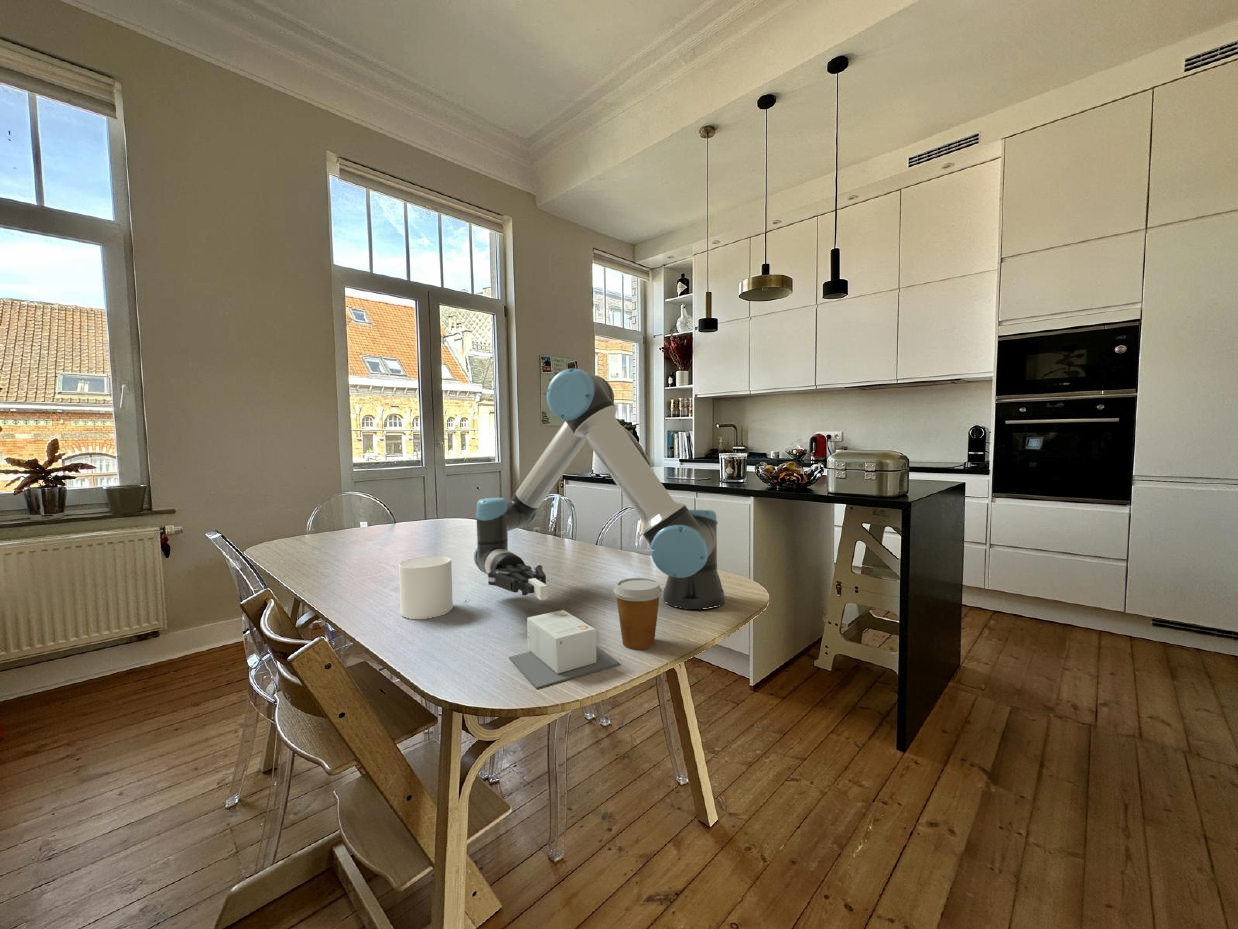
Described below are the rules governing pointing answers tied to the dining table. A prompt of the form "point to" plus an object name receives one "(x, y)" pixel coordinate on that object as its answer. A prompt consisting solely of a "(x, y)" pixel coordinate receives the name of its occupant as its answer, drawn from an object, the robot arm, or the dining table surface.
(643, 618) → the disposable coffee cup
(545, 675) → the rubber mat
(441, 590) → the white cylinder
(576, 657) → the small box
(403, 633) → the dining table surface
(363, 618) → the dining table surface
